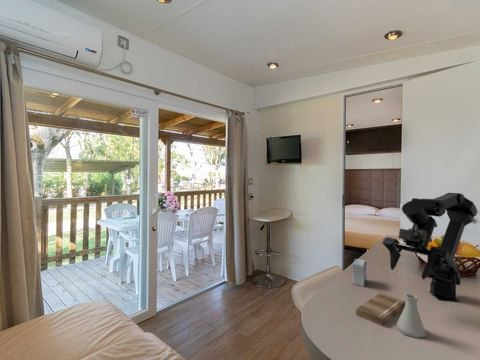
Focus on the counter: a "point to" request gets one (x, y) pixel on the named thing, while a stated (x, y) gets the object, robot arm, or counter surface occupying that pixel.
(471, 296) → the counter surface
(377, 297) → the walnut board
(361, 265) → the medicine box
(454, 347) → the counter surface
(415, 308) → the flask
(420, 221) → the robot arm
